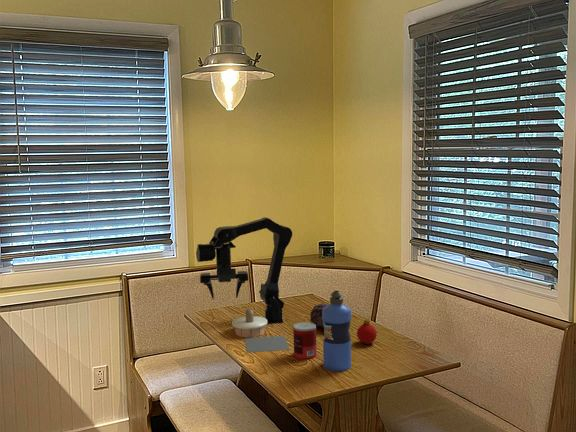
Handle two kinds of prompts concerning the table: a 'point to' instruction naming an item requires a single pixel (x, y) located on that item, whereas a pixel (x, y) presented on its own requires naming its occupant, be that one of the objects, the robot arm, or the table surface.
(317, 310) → the pine cone
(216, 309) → the table surface
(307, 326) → the canned food
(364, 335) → the christmas ornament
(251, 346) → the mat
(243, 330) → the bowl
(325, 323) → the water bottle
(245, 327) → the lid
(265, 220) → the robot arm
